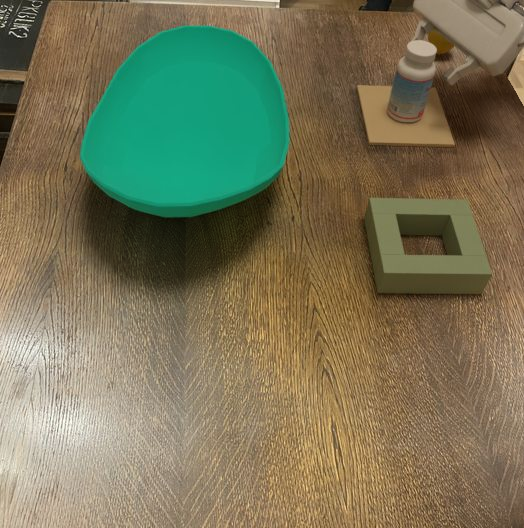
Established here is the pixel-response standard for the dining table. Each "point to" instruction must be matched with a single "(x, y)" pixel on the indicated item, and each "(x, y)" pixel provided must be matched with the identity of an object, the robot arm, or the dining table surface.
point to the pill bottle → (412, 82)
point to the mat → (403, 133)
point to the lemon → (439, 42)
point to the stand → (426, 266)
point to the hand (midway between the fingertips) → (428, 65)
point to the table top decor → (188, 124)
